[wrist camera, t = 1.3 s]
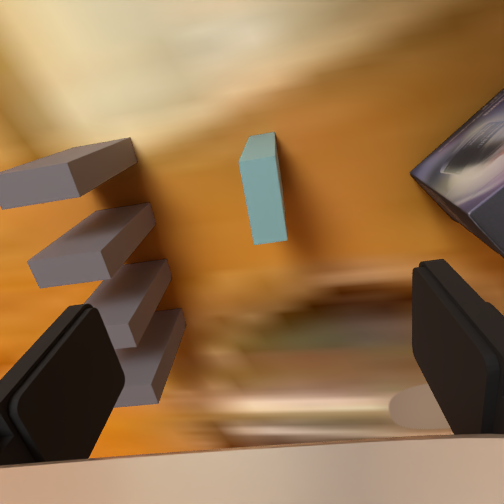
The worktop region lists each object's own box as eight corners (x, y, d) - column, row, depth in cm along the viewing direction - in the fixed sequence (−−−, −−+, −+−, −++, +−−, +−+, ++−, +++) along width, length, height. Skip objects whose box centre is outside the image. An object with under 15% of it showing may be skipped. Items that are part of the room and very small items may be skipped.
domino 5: (259, 196, 31) (254, 244, 22) (249, 136, 29) (238, 161, 20) (283, 193, 31) (287, 240, 22) (274, 131, 29) (275, 155, 20)
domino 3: (115, 265, 35) (60, 331, 26) (166, 258, 34) (127, 323, 25) (122, 284, 36) (70, 353, 26) (172, 277, 35) (136, 346, 26)
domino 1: (72, 147, 30) (-14, 176, 21) (130, 137, 30) (66, 162, 21) (81, 171, 31) (2, 209, 22) (137, 162, 30) (79, 196, 21)
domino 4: (133, 314, 37) (88, 390, 28) (181, 308, 36) (150, 384, 27) (139, 330, 38) (97, 408, 29) (186, 324, 37) (158, 403, 28)
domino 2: (95, 210, 32) (27, 261, 23) (149, 202, 32) (100, 251, 23) (103, 231, 33) (39, 288, 24) (156, 223, 33) (110, 279, 24)
